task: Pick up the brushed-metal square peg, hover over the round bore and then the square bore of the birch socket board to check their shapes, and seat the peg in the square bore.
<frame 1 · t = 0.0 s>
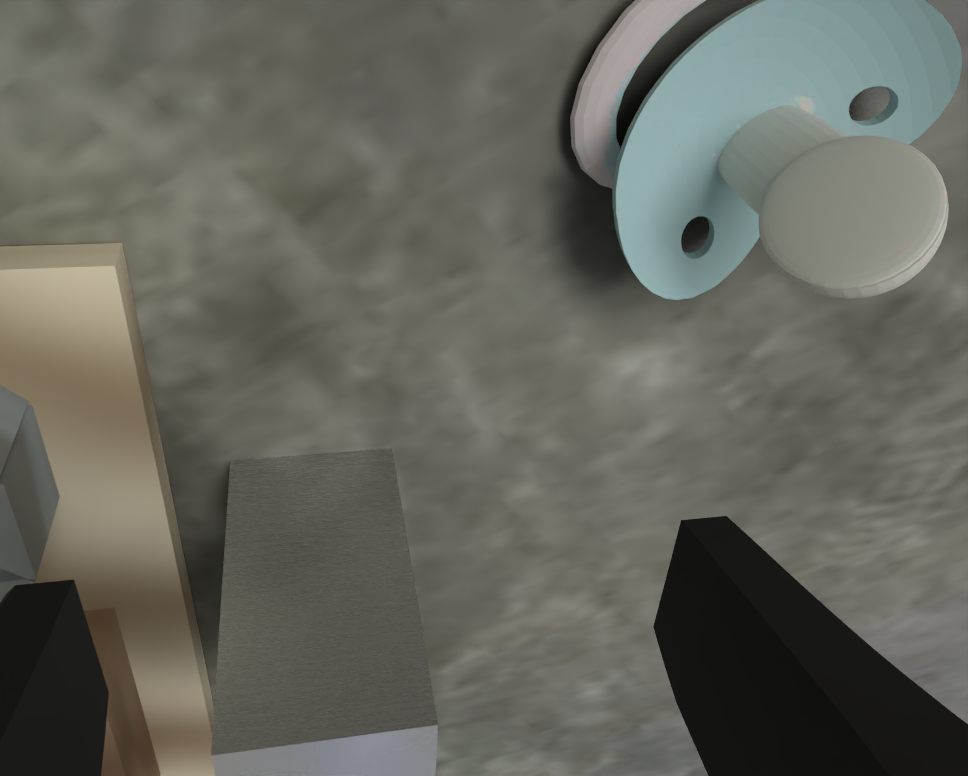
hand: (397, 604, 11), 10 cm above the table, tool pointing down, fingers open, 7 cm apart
pacifier: (715, 86, 19), on the table
square peg: (316, 512, 23), on the table
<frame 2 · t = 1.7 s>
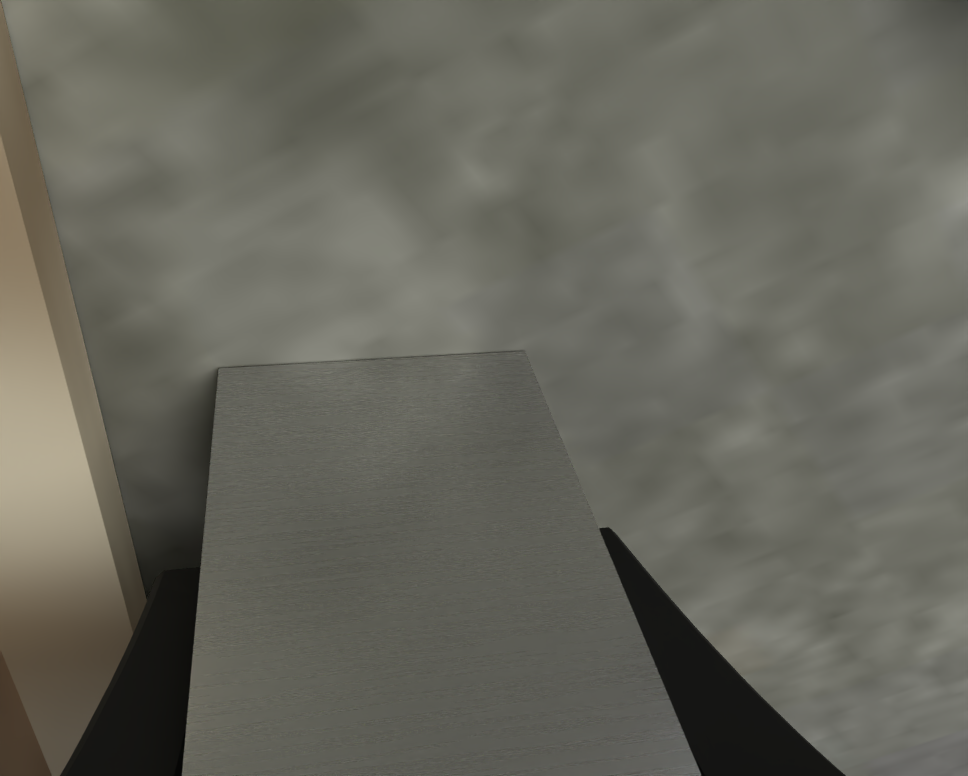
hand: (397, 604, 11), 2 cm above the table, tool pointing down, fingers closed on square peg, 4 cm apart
square peg: (378, 474, 13), on the table, touching gripper
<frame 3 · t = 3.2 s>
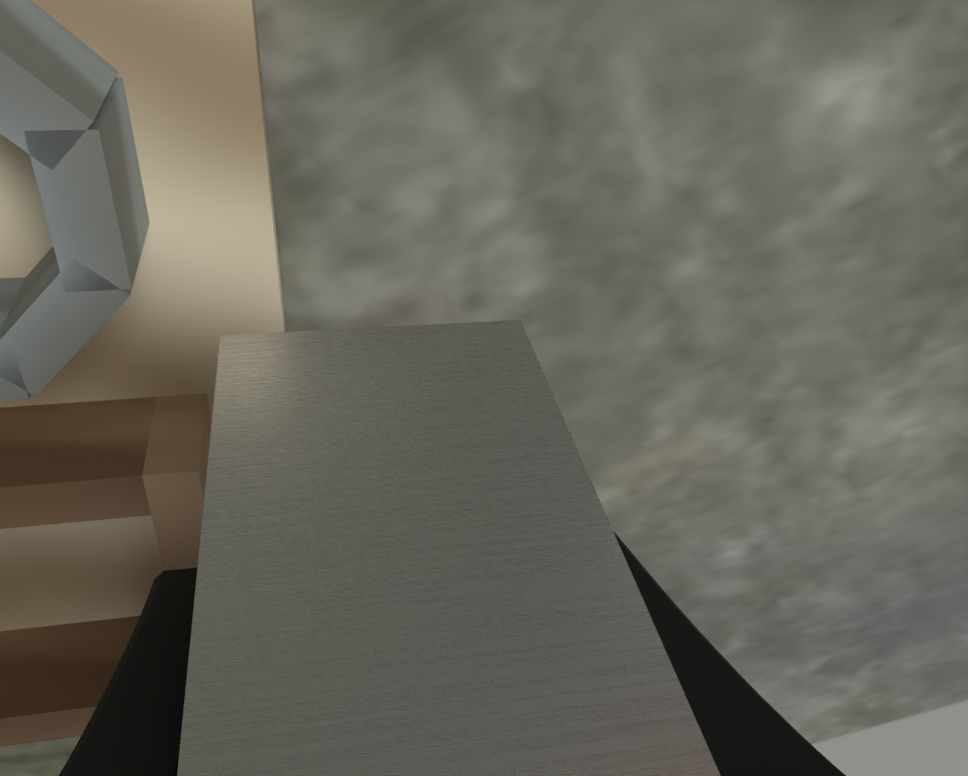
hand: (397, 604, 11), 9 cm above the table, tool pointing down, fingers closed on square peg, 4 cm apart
socket board: (14, 350, 18), on the table
square peg: (377, 444, 13), point 7 cm above the table, touching gripper
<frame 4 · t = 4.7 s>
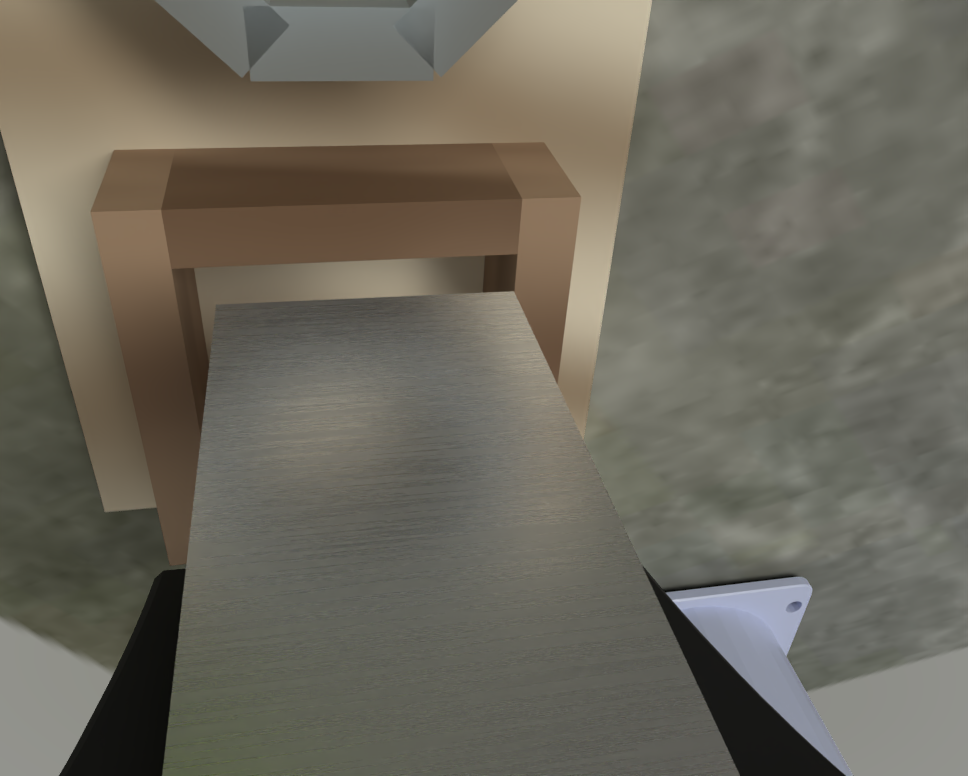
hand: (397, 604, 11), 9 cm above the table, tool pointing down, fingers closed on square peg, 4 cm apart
socket board: (333, 88, 16), on the table
square peg: (372, 417, 13), point 6 cm above the table, touching gripper
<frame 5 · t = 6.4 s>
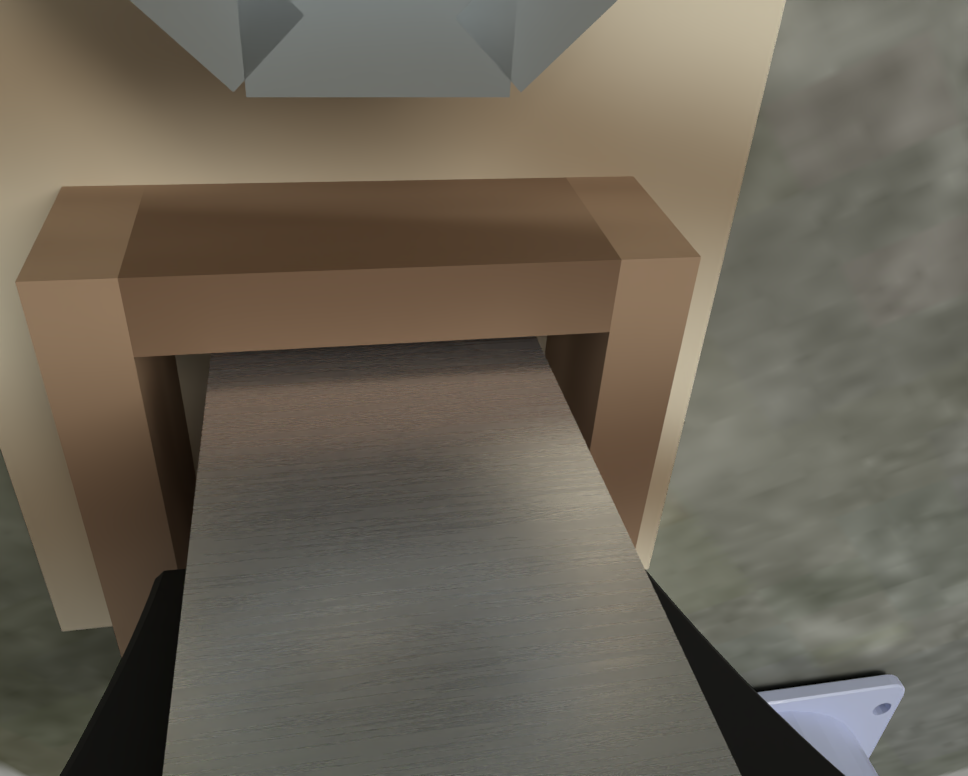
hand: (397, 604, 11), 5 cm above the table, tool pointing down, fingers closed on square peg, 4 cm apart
socket board: (358, 104, 12), on the table
square peg: (372, 416, 13), point 2 cm above the table, touching gripper
when the fingers open (4 cm above the table, at t = 7.5 s): square peg stays where it is, resting on socket board.
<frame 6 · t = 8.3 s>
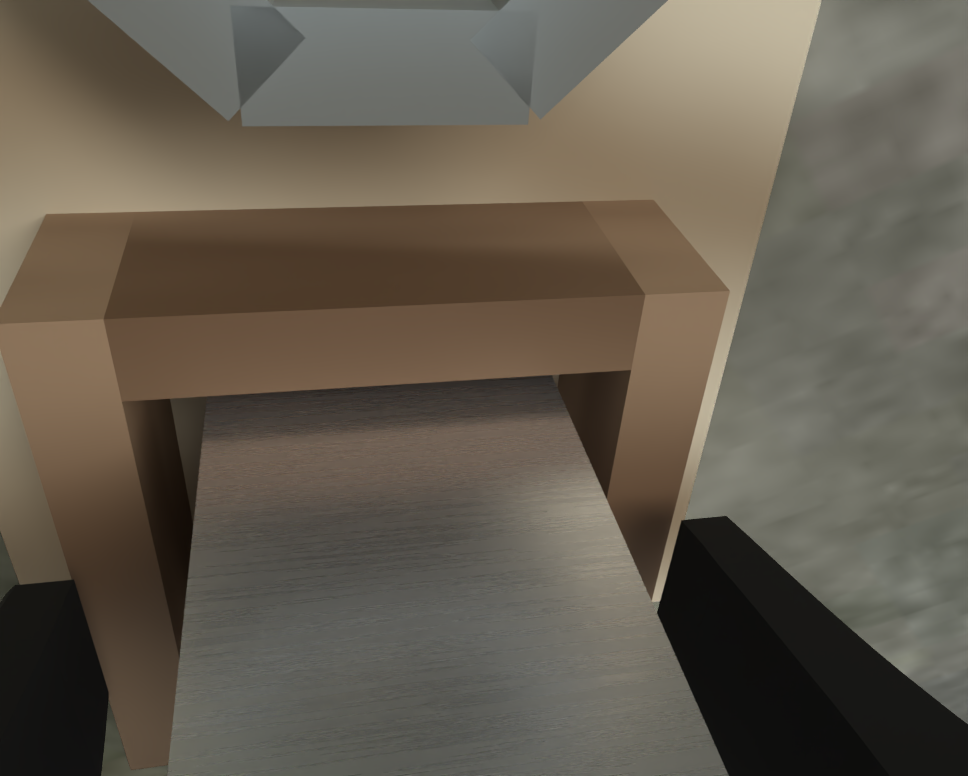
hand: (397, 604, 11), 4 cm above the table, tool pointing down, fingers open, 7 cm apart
socket board: (362, 124, 11), on the table
square peg: (372, 415, 13), point 1 cm above the table, touching socket board
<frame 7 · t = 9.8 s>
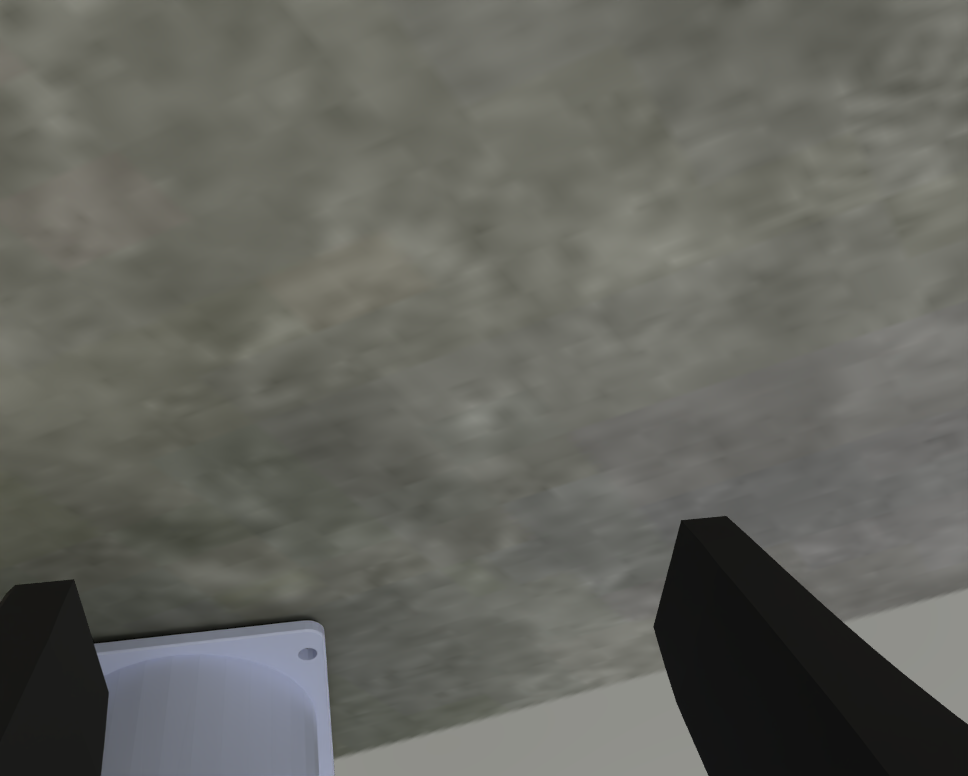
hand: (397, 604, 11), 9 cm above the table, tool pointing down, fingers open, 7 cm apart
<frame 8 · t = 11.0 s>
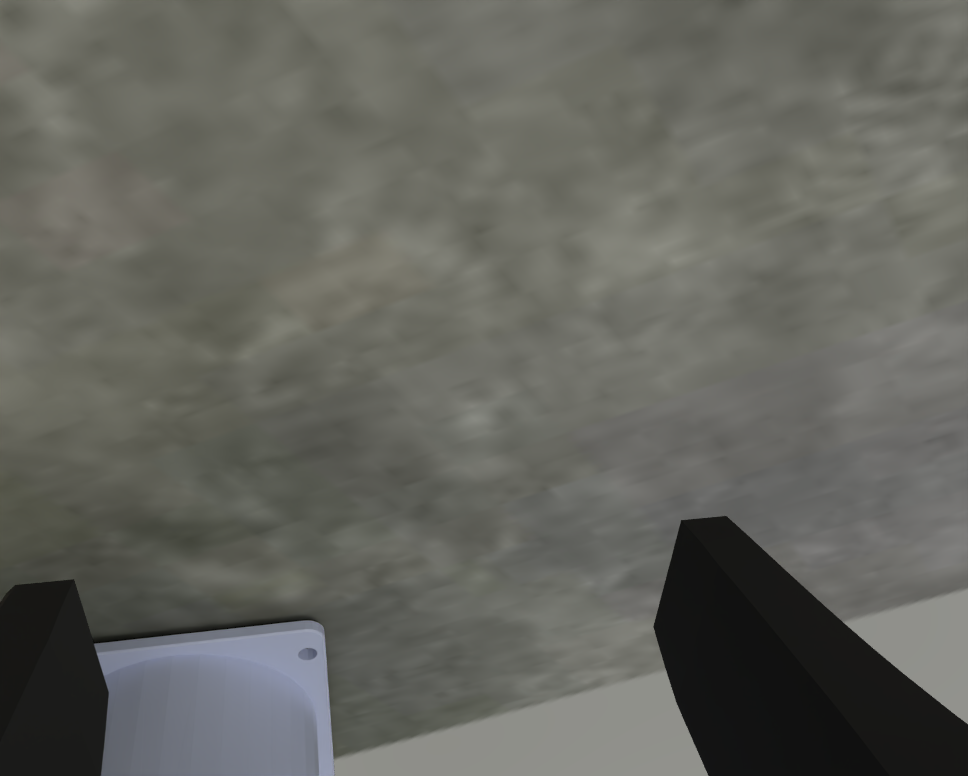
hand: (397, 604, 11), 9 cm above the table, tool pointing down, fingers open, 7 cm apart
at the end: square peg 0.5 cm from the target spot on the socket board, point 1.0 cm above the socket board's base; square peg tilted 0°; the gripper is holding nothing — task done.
